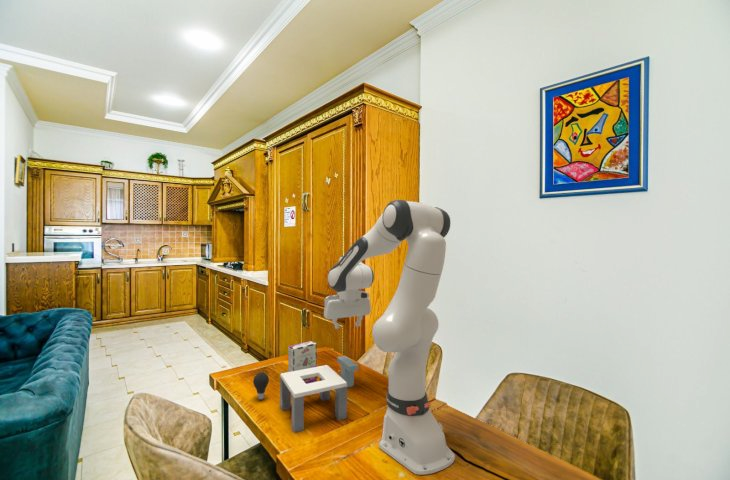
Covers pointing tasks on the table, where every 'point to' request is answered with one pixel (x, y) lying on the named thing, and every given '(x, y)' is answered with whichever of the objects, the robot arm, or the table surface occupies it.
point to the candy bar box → (303, 358)
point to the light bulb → (261, 384)
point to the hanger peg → (347, 369)
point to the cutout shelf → (311, 392)
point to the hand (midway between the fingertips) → (347, 327)
